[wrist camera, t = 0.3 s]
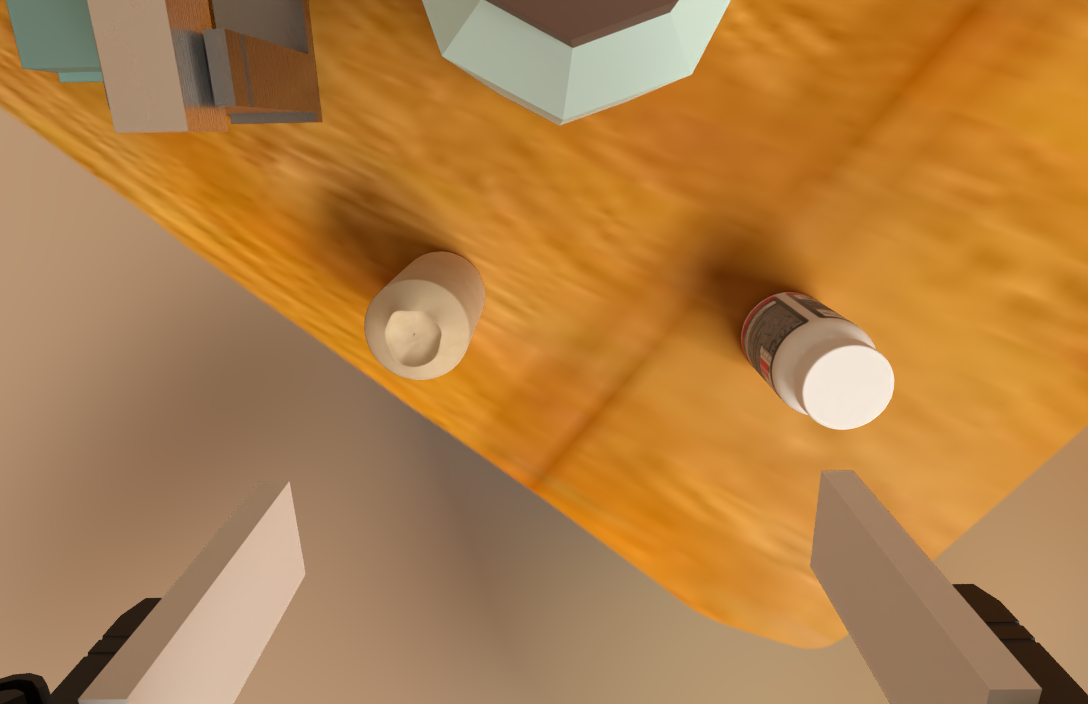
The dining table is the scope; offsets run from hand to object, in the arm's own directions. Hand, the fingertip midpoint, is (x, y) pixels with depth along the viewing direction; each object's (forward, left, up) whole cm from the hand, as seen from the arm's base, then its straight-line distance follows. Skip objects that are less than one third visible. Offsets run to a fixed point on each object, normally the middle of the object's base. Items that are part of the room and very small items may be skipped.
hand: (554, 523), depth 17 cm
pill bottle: (+3, +15, -28) cm, 31 cm away
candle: (0, -7, -28) cm, 28 cm away
